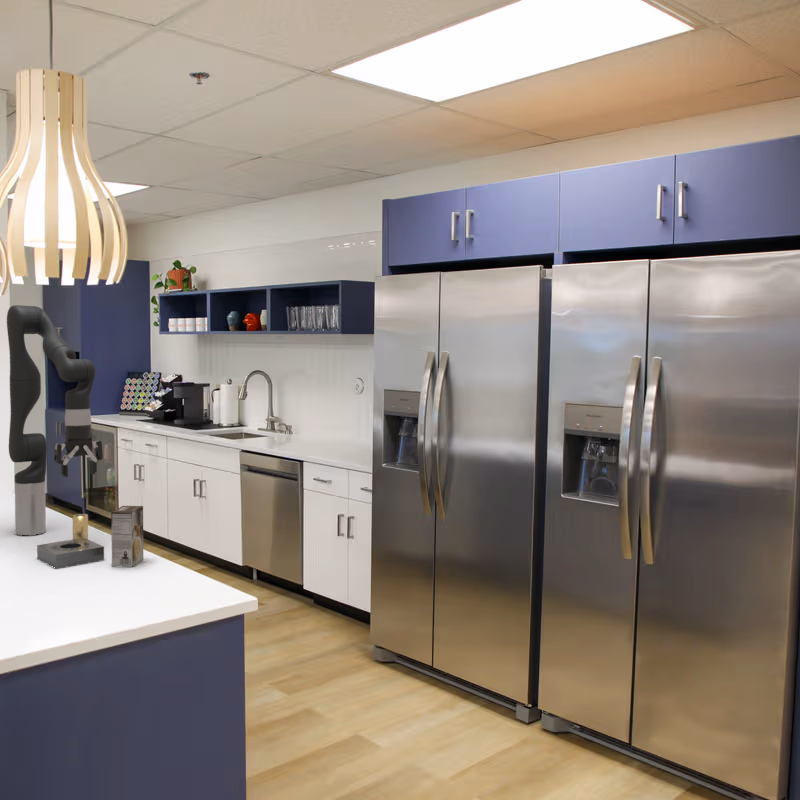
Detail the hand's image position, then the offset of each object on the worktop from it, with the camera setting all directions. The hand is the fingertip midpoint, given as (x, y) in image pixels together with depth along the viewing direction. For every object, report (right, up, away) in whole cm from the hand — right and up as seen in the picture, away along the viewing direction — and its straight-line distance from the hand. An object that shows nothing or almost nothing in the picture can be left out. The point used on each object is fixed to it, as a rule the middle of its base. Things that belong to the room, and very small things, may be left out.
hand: (79, 475), depth 248 cm
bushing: (0, -23, +2) cm, 23 cm away
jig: (+3, -24, -13) cm, 27 cm away
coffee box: (+20, -24, -15) cm, 35 cm away
